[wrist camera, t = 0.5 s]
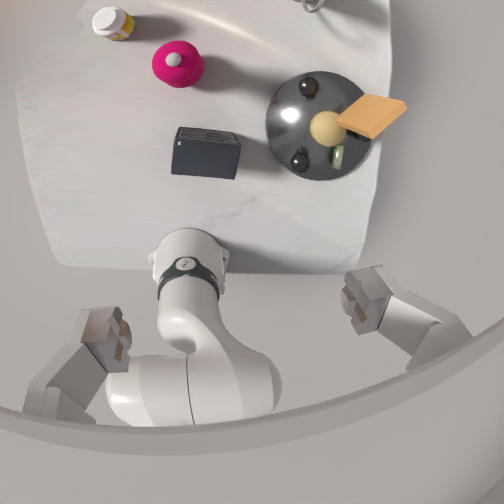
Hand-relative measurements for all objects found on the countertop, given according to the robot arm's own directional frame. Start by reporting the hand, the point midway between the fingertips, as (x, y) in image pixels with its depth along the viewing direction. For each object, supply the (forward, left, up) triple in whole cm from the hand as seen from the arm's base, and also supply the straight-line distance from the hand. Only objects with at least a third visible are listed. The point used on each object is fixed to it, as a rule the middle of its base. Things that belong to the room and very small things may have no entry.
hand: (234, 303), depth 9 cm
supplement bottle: (+20, +16, -46) cm, 52 cm away
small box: (-5, 0, -46) cm, 46 cm away
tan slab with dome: (+3, -25, -43) cm, 50 cm away
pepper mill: (+10, +4, -46) cm, 47 cm away
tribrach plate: (0, -23, -45) cm, 51 cm away
